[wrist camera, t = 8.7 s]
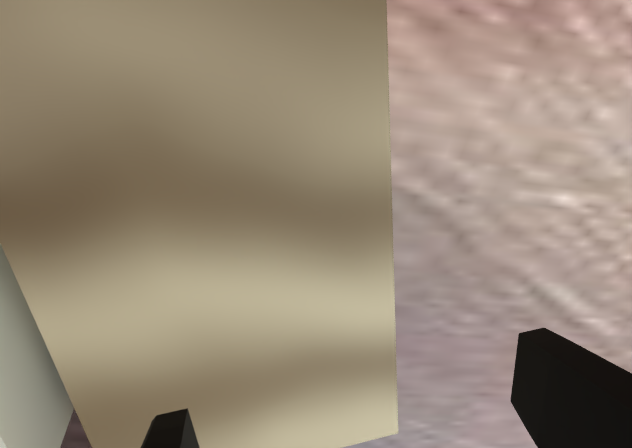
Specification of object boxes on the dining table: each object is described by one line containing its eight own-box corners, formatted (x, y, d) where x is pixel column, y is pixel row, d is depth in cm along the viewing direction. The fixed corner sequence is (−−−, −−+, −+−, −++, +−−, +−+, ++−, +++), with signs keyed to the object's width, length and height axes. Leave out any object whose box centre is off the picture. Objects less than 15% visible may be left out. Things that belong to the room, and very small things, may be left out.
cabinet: (356, 340, 23) (398, 433, 18) (38, 410, 20) (-19, 538, 15) (317, -194, 14) (377, -313, 9) (-250, -169, 12) (-595, -307, 7)
